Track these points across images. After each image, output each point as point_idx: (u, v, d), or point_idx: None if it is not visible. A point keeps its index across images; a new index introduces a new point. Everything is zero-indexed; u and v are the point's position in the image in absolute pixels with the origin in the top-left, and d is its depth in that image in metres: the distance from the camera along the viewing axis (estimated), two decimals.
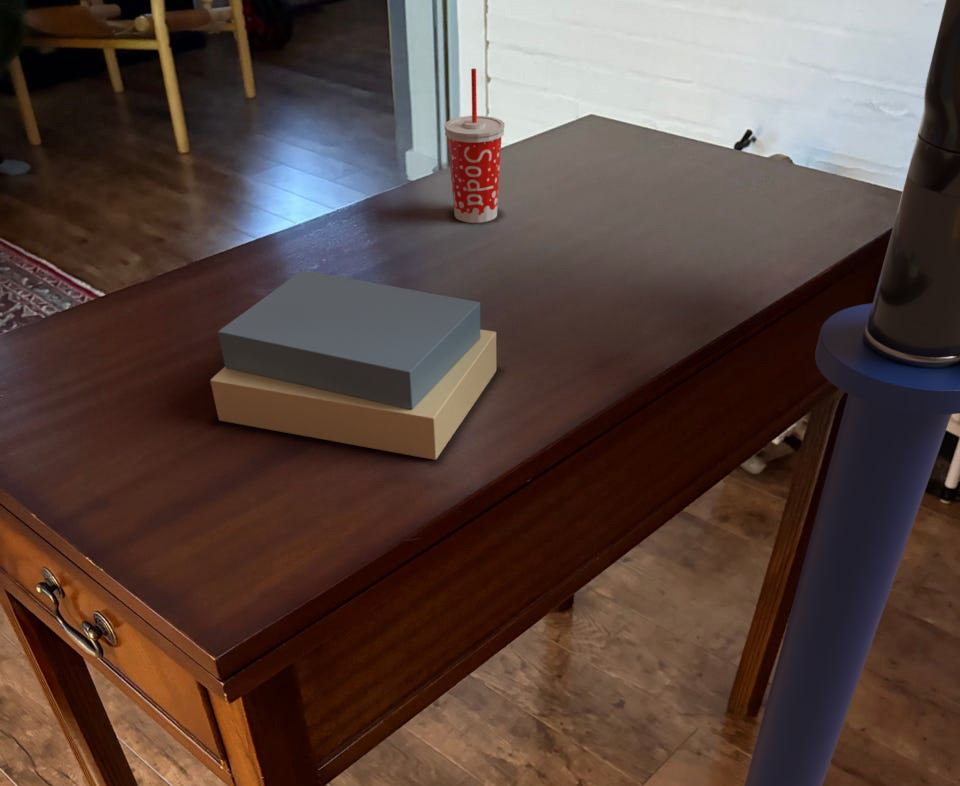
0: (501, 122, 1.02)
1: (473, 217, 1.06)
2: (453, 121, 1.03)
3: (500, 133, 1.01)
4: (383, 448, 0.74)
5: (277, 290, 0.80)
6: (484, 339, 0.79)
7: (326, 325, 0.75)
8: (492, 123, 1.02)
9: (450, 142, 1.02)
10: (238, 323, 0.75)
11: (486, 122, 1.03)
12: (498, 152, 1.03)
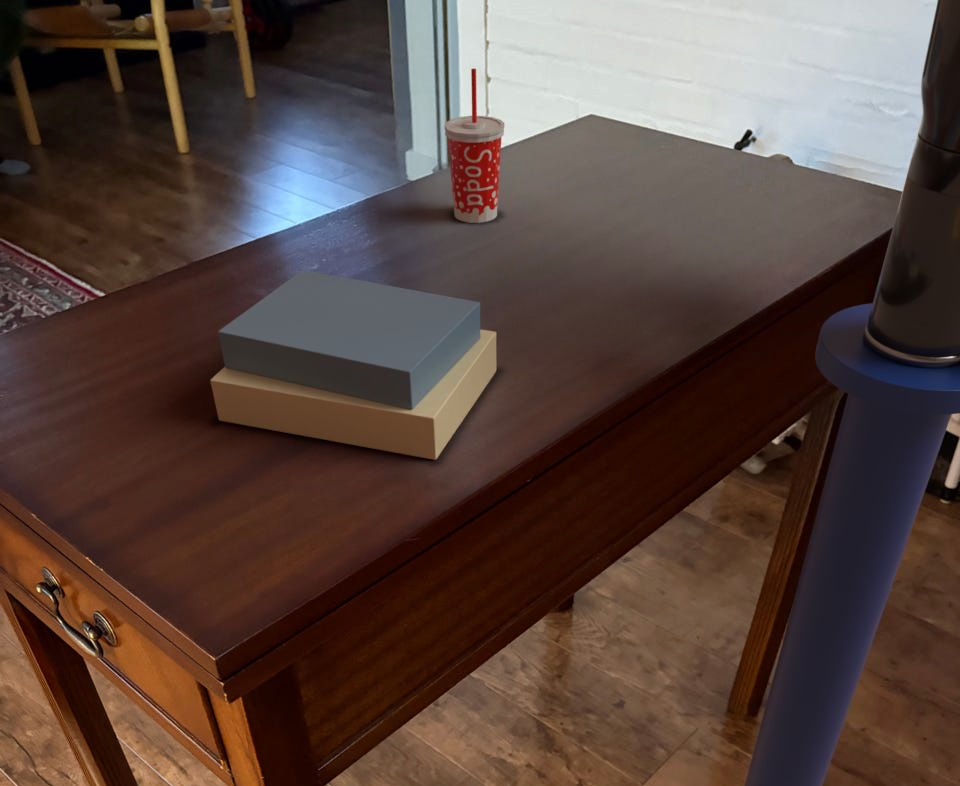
0: (501, 122, 1.02)
1: (473, 217, 1.06)
2: (453, 121, 1.03)
3: (500, 133, 1.01)
4: (383, 448, 0.74)
5: (277, 290, 0.80)
6: (484, 339, 0.79)
7: (326, 325, 0.75)
8: (492, 123, 1.02)
9: (450, 142, 1.02)
10: (238, 323, 0.75)
11: (486, 122, 1.03)
12: (498, 152, 1.03)
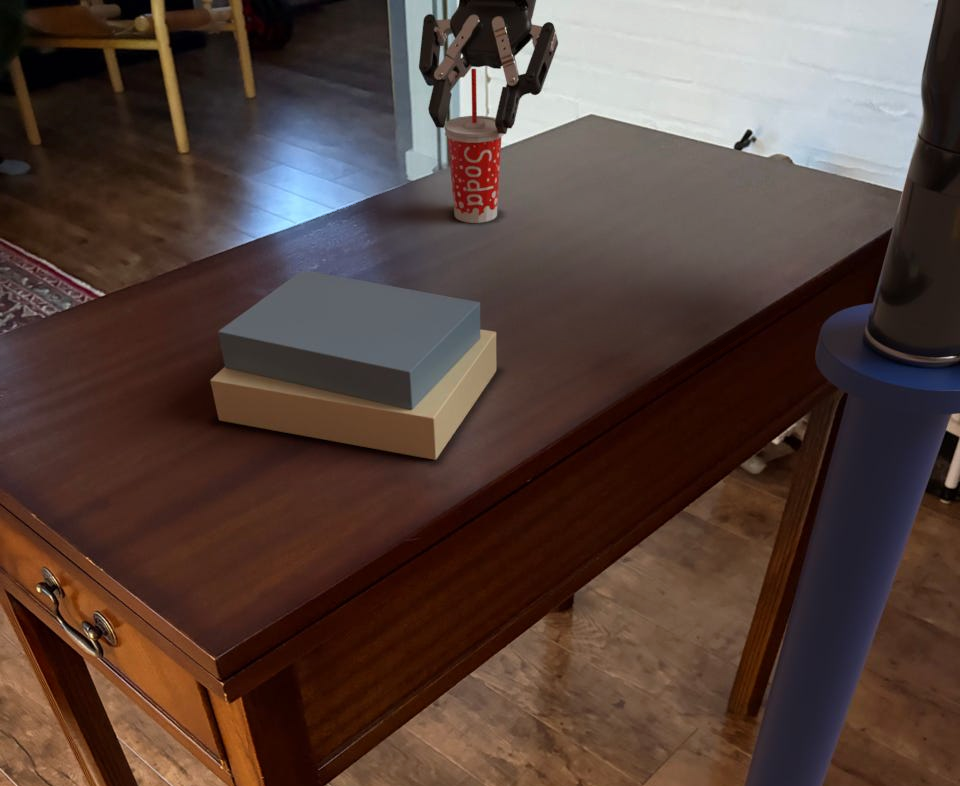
0: None
1: (473, 217, 1.06)
2: (453, 121, 1.03)
3: None
4: (383, 448, 0.74)
5: (277, 290, 0.80)
6: (484, 339, 0.79)
7: (326, 325, 0.75)
8: (492, 123, 1.02)
9: (450, 142, 1.02)
10: (238, 323, 0.75)
11: (486, 122, 1.03)
12: (498, 152, 1.03)
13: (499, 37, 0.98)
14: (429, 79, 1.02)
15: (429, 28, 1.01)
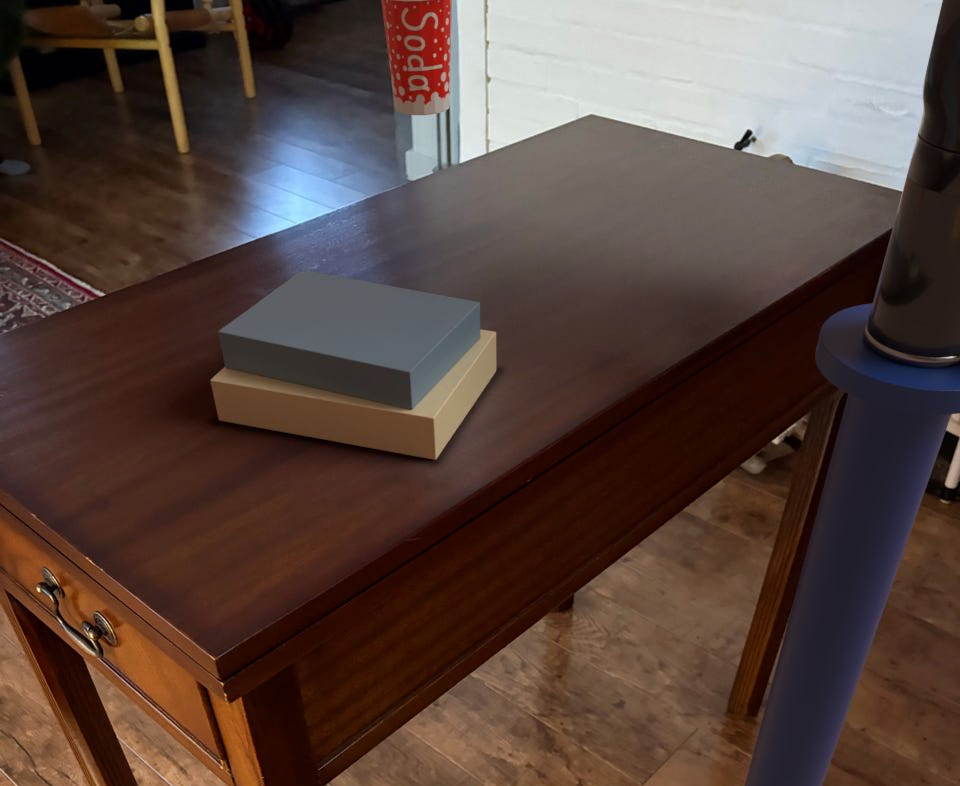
0: None
1: (417, 107, 0.82)
2: None
3: None
4: (383, 448, 0.74)
5: (277, 290, 0.80)
6: (484, 339, 0.79)
7: (326, 325, 0.75)
8: None
9: (384, 4, 0.78)
10: (238, 323, 0.75)
11: None
12: (447, 18, 0.79)
13: None
14: None
15: None
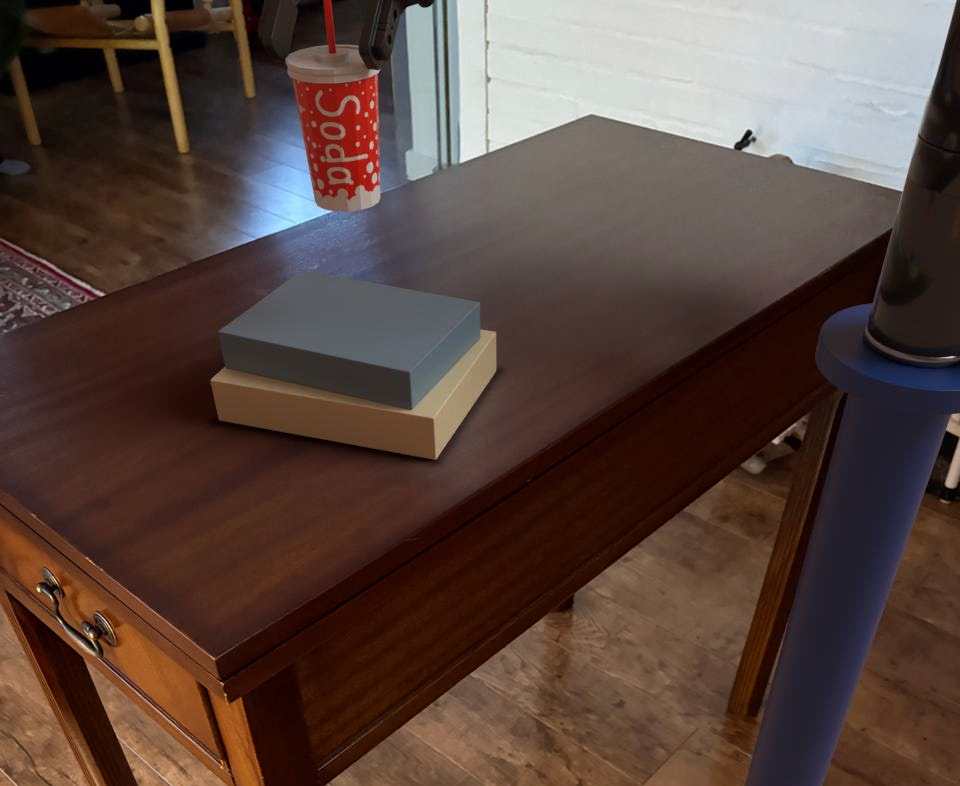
0: None
1: (340, 203, 0.69)
2: (302, 52, 0.66)
3: None
4: (383, 448, 0.74)
5: (277, 290, 0.80)
6: (484, 339, 0.79)
7: (326, 325, 0.75)
8: None
9: (295, 84, 0.65)
10: (238, 323, 0.75)
11: (353, 53, 0.66)
12: (372, 100, 0.66)
13: None
14: None
15: None
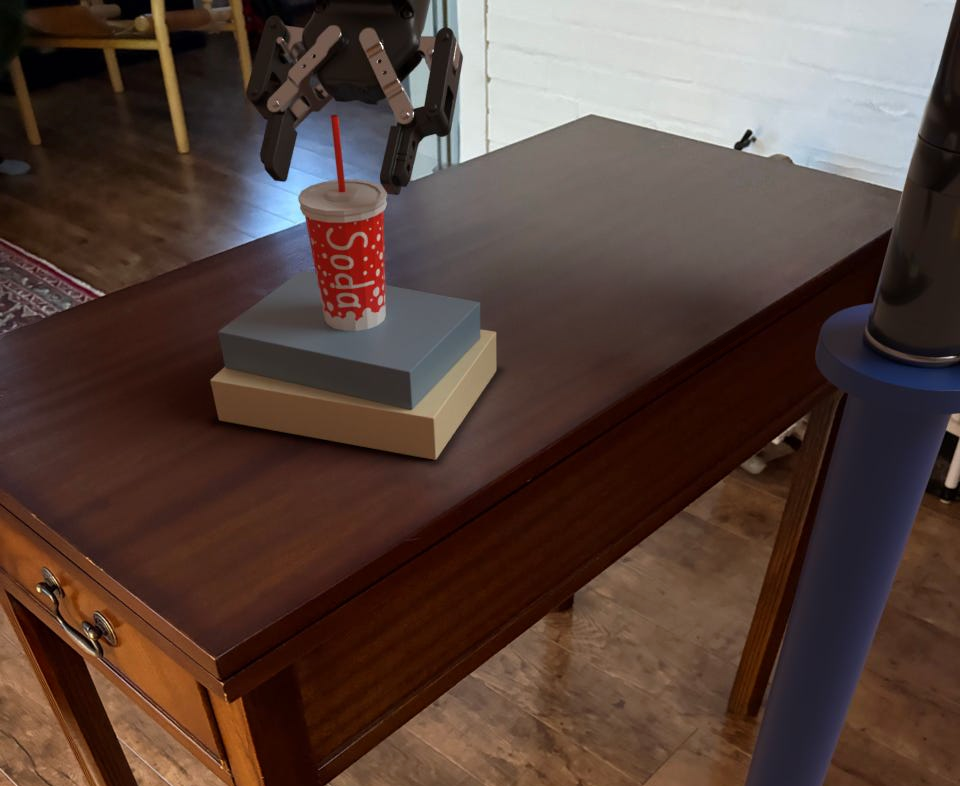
0: (382, 190, 0.70)
1: (348, 323, 0.74)
2: (313, 188, 0.71)
3: (379, 207, 0.69)
4: (383, 448, 0.74)
5: (277, 290, 0.80)
6: (484, 339, 0.79)
7: (326, 325, 0.75)
8: (369, 192, 0.70)
9: (307, 220, 0.70)
10: (238, 323, 0.75)
11: (361, 190, 0.71)
12: (378, 234, 0.71)
13: (375, 57, 0.66)
14: (262, 111, 0.69)
15: (271, 37, 0.68)
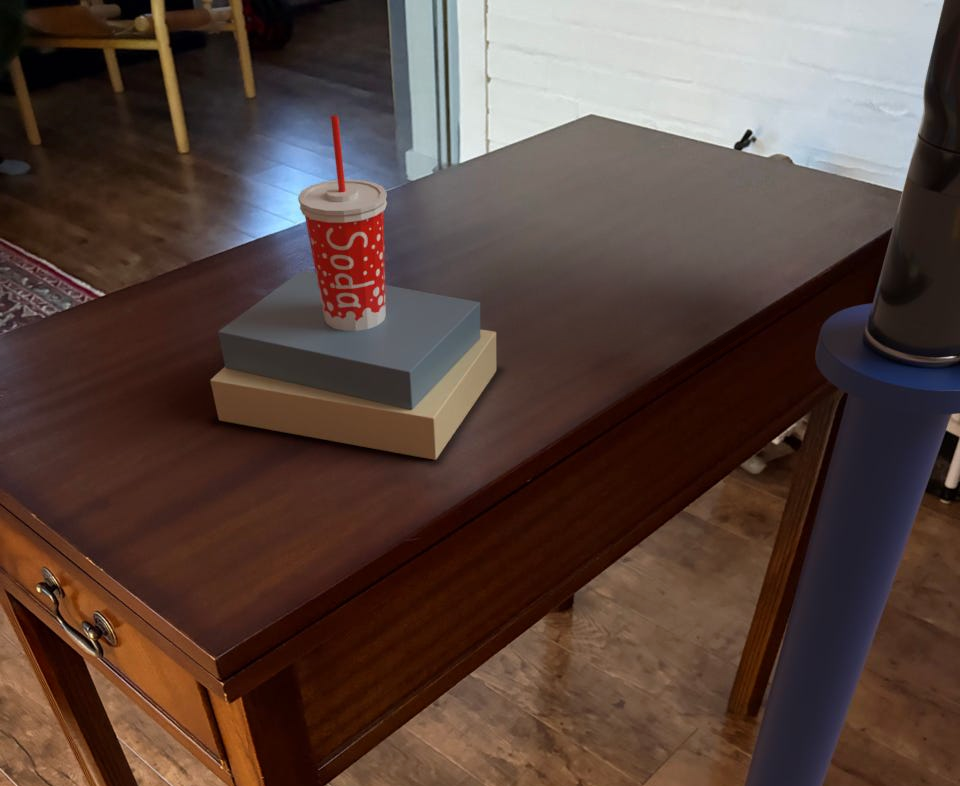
0: (382, 190, 0.70)
1: (348, 323, 0.74)
2: (313, 188, 0.71)
3: (378, 207, 0.69)
4: (383, 448, 0.74)
5: (277, 290, 0.80)
6: (484, 339, 0.79)
7: (326, 325, 0.75)
8: (369, 192, 0.70)
9: (307, 220, 0.70)
10: (238, 323, 0.75)
11: (361, 190, 0.71)
12: (378, 234, 0.71)
13: None
14: None
15: None
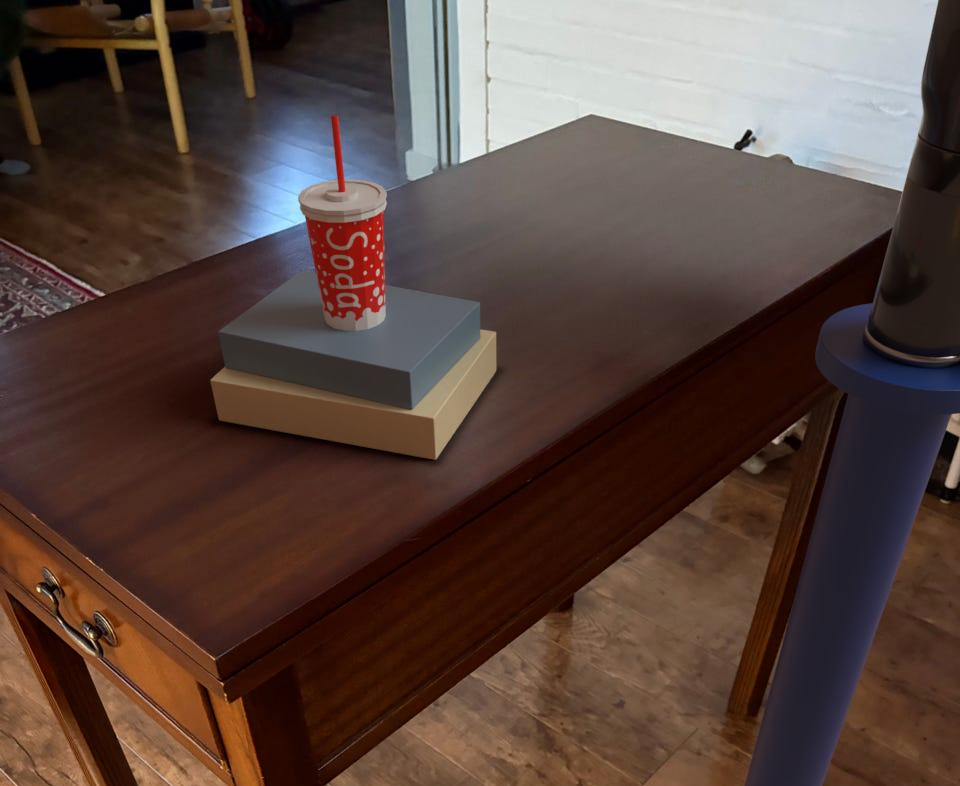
0: (382, 190, 0.70)
1: (348, 323, 0.74)
2: (313, 188, 0.71)
3: (378, 207, 0.69)
4: (383, 448, 0.74)
5: (277, 290, 0.80)
6: (484, 339, 0.79)
7: (326, 325, 0.75)
8: (369, 192, 0.70)
9: (307, 220, 0.70)
10: (238, 323, 0.75)
11: (361, 190, 0.71)
12: (378, 234, 0.71)
13: None
14: None
15: None
